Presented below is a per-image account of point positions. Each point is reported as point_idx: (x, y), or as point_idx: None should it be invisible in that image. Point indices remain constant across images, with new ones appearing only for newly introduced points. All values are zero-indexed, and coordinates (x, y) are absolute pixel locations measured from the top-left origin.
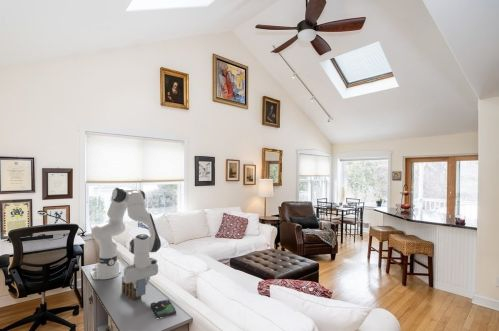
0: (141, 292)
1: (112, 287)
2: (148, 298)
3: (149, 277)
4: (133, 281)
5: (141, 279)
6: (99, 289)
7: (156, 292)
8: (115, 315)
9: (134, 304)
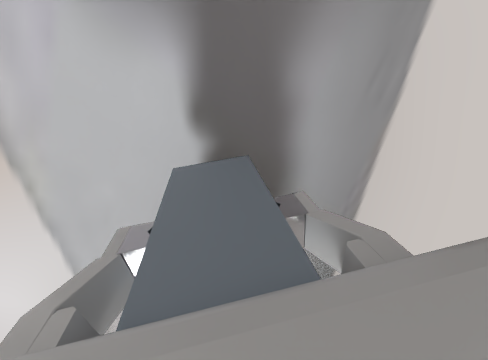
0: (212, 173)
1: None
2: (151, 159)
3: (10, 343)
4: (457, 247)
5: (232, 300)
6: None
7: (75, 217)
8: (411, 50)
9: (262, 129)
